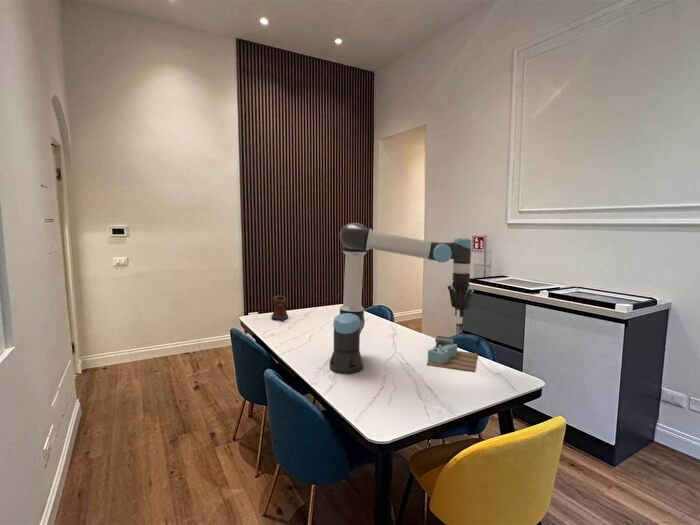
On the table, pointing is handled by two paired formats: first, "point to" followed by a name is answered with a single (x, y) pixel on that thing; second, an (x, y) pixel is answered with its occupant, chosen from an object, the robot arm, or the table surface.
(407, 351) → the table surface
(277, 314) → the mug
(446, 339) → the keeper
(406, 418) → the table surface
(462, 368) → the board
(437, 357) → the link
